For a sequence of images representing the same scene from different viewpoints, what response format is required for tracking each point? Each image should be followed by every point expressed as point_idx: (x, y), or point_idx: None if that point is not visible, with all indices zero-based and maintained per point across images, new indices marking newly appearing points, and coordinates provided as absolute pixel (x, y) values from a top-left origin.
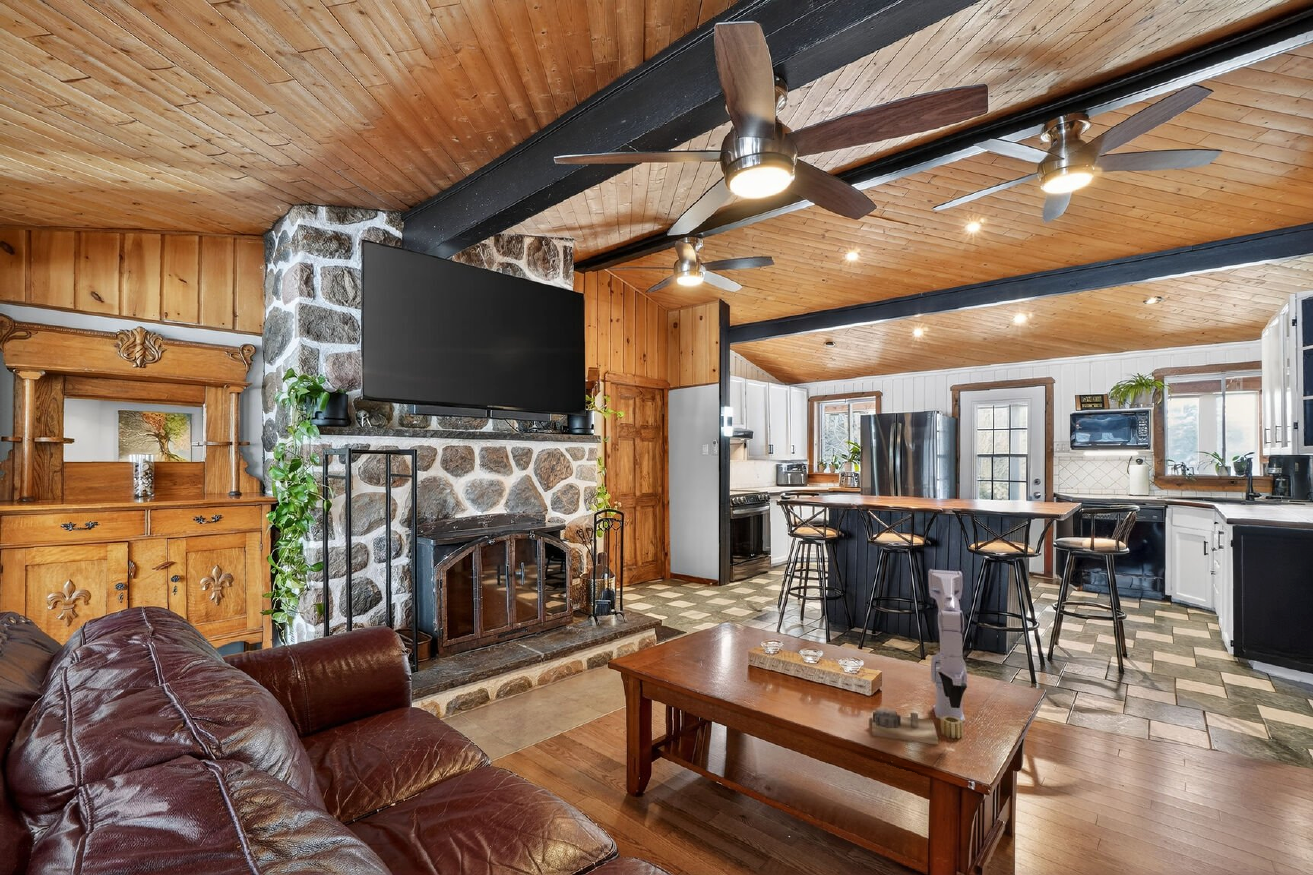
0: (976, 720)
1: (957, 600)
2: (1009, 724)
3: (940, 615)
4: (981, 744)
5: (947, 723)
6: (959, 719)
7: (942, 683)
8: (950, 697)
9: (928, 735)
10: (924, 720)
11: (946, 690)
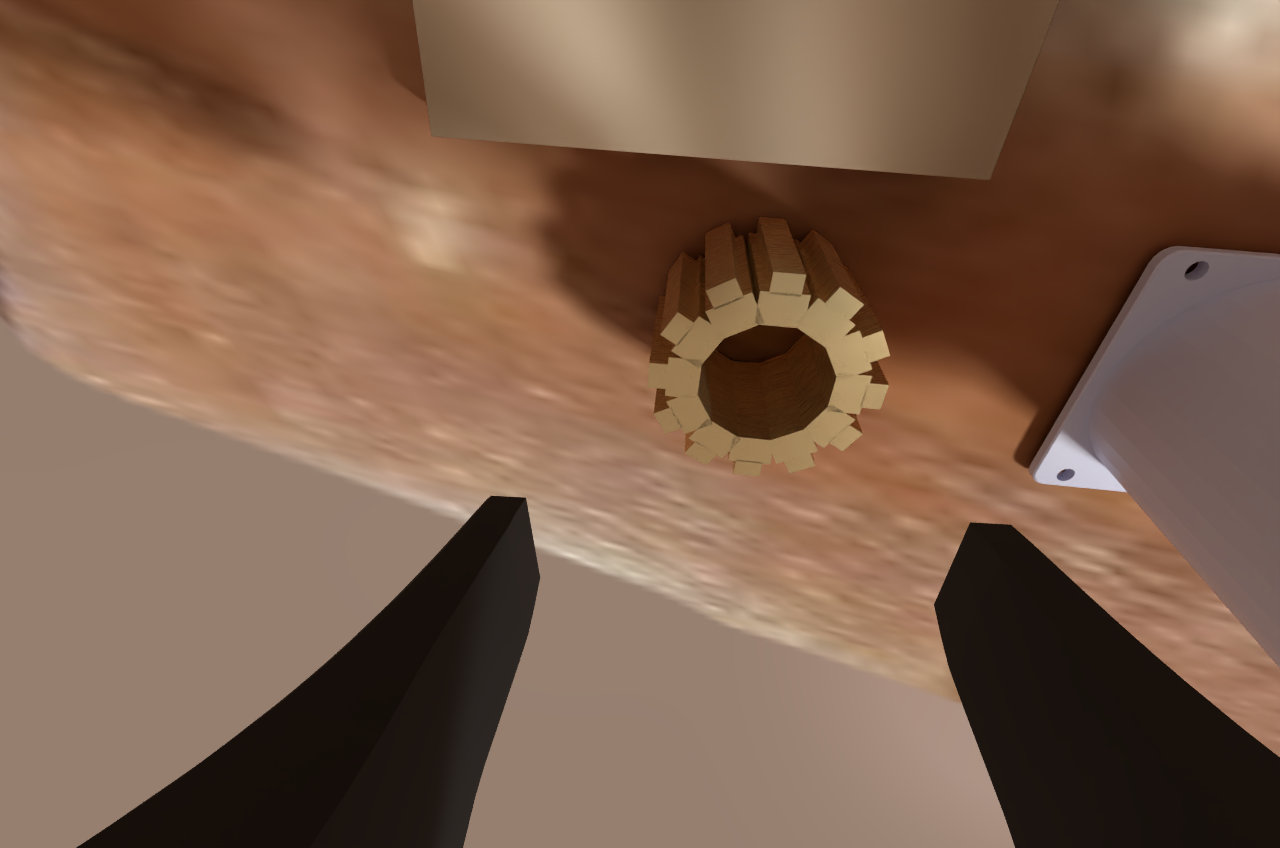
0: (1055, 543)
1: None
2: None
3: None
4: (616, 471)
5: (667, 319)
6: (784, 456)
7: (1213, 729)
8: (368, 635)
9: (488, 25)
10: (977, 52)
11: (1018, 633)
